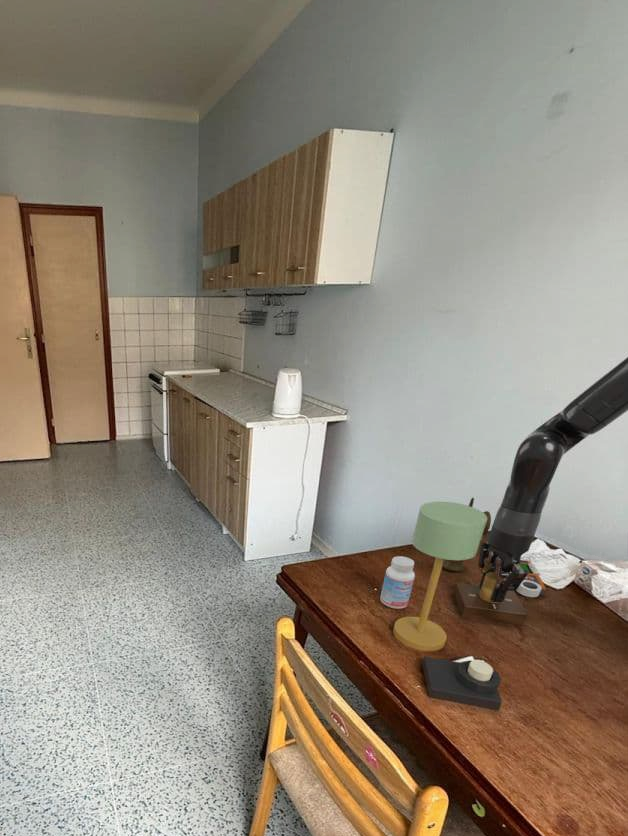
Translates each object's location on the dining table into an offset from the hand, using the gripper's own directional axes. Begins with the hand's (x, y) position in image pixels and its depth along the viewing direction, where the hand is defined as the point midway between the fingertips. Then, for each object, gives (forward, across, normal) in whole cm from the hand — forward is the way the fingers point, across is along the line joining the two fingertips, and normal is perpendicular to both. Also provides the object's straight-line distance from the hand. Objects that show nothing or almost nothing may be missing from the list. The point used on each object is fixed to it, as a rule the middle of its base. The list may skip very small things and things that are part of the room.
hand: (490, 594), depth 106 cm
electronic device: (+4, +12, -15) cm, 19 cm away
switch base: (+4, -25, +18) cm, 31 cm away
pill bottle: (+4, +2, +20) cm, 20 cm away
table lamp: (+4, -10, +19) cm, 22 cm away
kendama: (+4, +18, -1) cm, 19 cm away
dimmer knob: (+1, 0, 0) cm, 1 cm away
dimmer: (+4, 0, 0) cm, 4 cm away
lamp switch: (0, -26, +15) cm, 30 cm away
